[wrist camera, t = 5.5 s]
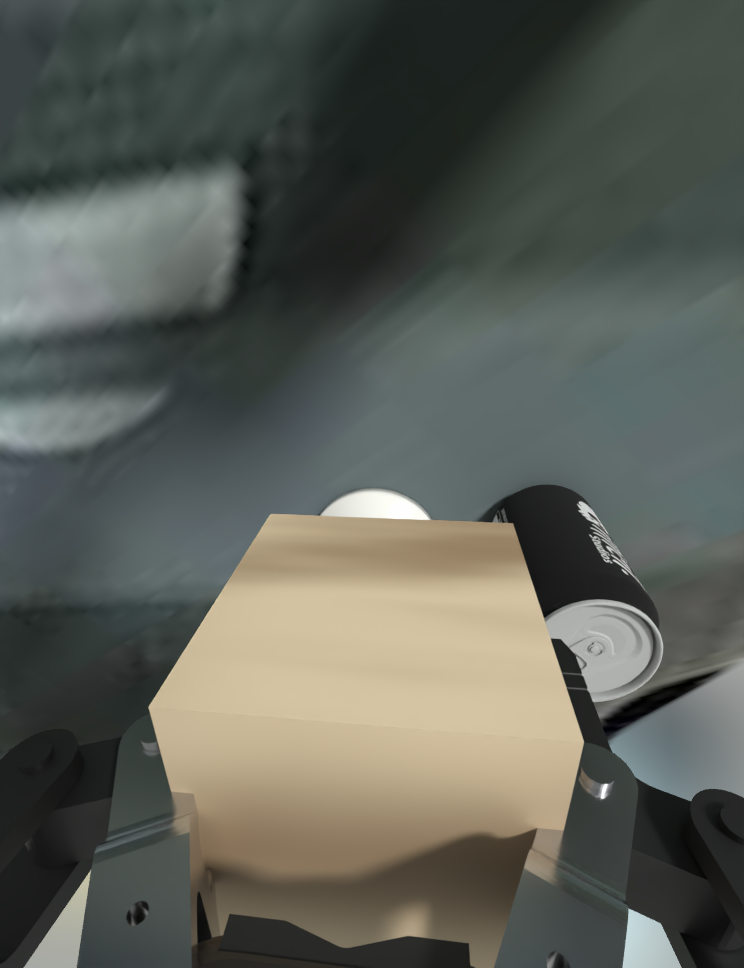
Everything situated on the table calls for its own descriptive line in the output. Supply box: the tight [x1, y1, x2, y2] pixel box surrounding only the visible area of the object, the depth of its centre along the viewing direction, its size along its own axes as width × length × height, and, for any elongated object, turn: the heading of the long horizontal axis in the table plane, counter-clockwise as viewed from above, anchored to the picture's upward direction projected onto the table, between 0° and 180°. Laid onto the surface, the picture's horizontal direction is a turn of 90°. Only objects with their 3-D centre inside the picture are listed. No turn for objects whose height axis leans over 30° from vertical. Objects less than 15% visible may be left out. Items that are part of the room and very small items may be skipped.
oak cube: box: [149, 514, 584, 968], centre depth 11 cm, size 6×6×6 cm
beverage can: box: [492, 485, 663, 702], centre depth 27 cm, size 7×7×12 cm
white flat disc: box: [319, 488, 432, 520], centre depth 34 cm, size 9×9×1 cm
